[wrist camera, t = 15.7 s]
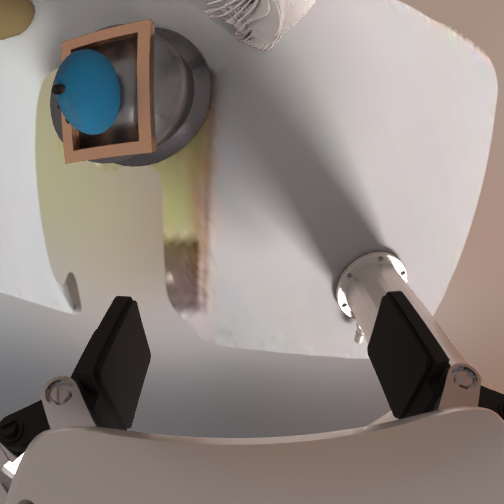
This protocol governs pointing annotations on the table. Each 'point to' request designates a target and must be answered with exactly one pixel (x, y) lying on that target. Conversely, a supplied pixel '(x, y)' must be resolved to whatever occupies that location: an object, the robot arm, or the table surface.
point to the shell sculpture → (262, 19)
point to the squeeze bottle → (15, 17)
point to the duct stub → (141, 96)
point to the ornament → (88, 91)
